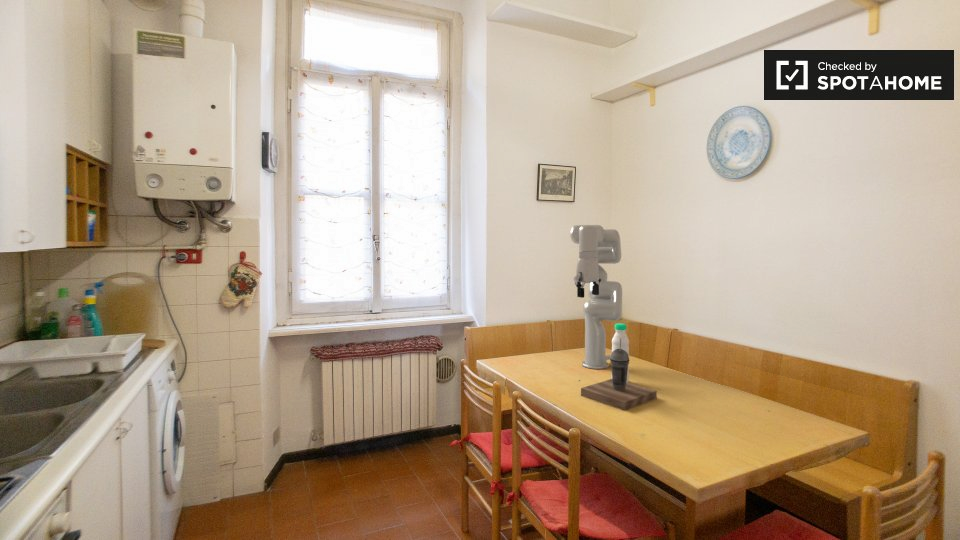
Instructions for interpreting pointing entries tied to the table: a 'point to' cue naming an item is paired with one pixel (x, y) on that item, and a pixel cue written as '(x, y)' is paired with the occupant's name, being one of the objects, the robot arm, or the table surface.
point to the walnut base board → (619, 394)
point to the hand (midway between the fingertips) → (588, 296)
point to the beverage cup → (619, 368)
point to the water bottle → (621, 334)
